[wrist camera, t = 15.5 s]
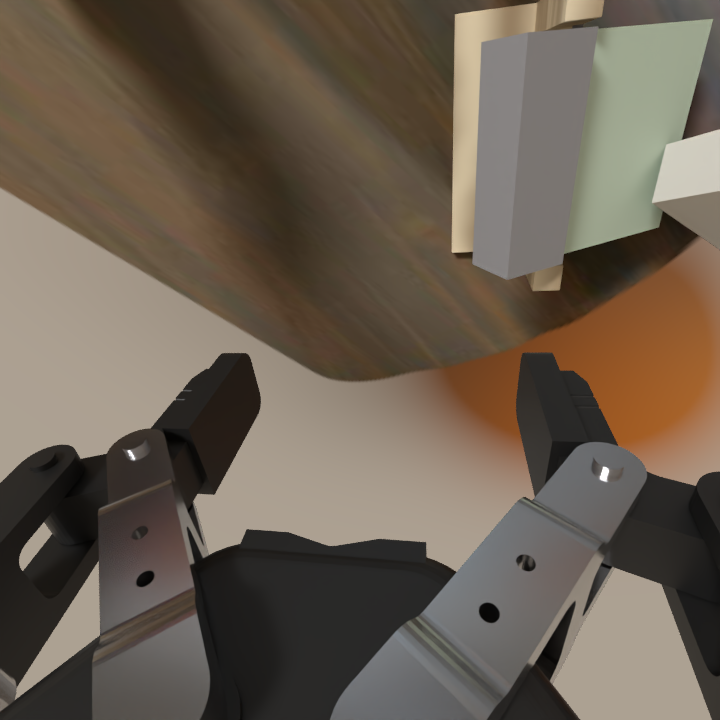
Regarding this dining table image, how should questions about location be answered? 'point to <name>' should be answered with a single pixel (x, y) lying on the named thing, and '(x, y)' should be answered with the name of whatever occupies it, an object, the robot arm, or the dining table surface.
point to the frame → (553, 12)
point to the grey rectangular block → (692, 184)
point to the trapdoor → (576, 137)
